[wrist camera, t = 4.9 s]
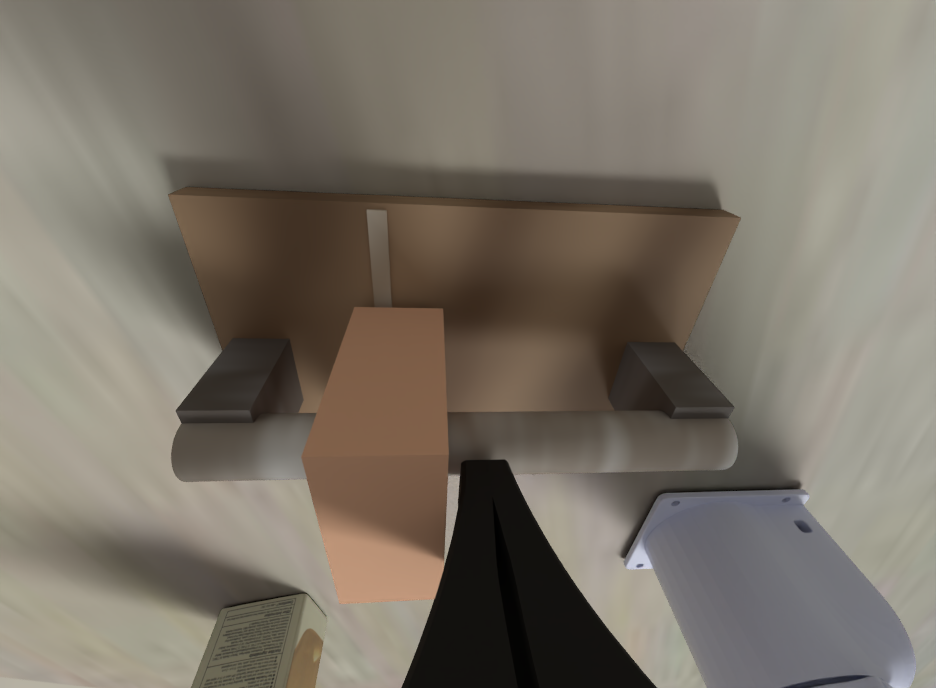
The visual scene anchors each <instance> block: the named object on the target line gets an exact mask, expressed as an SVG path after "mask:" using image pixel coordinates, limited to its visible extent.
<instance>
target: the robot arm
mask: <svg viewBox="0 0 936 688" xmlns="http://www.w3.org/2000/svg"><path fill="white" fill-rule="evenodd" d="M808 499H809V494H808V493H807V492H806V491H805V490H802V489H792V490H756V491H719V492H682V493H664V494H661V495H659V496H658V497H657V499H656V501H655V503H654V505H653V507H652V508H651V510H650V512H649V514H648V516H647V518H646V520H645V522H644V524H643V526H642V527H641V529H640V531H639V533H638V535H637V537H636V539H635V541H634V543H633V545H632V546H631V548H630V550H629V552H628V554H627V556H626V558H625V560H624V565H625V567H626V568H627V569H651V568H653V569H654V571H655V573H656V576H657V578H658V580H659V582H660V585H661V587H662V589H663V591H664V593H665V596H666V598H667V600H668V602H669V605H670V607H671V609H672V611H673V613H674V616H675V618H676V620H677V622H678V625H679V627H680V629H681V631H682V634H683V636H684V638H685V640H686V642H687V645H688V647H689V649H690V651H691V654H692V656H693V658H694V660H695V662H696V665H697V667H698V669H699V671H700V674H701V676H702V678H703V680H704V682H705V685H706V687H707V688H909V687H910V685H911V684H912V682H913V679H914V676H915V671H916V659H915V654H914V651H913V647H912V645H911V642H910V639H909V637H908V635H907V632H906V630H905V628H904V626H903V625H902V623H901V621H900V619H899V618H898V616H897V615H896V613H895V612H894V610H893V609H892V607H891V606H890V605H889V604H888V602H887V601H886V600H885V599H884V597H883V596H882V595H881V594H880V593H879V592H878V590H877V589H876V588H875V587H874V586H873V585H872V584H871V582H870V581H869V580H868V579H867V578H866V577H865V576H864V574H863V573H862V572H861V571H860V570H859V569H858V568H857V566H856V565H855V564H854V563H853V562H852V561H851V559H850V558H849V557H848V556H847V555H846V554H845V553H844V551H843V550H842V549H841V548H840V547H839V546H838V545H837V543H836V542H835V541H834V540H833V539H832V538H831V536H830V535H829V534H828V533H827V532H826V531H825V530H824V528H823V527H822V526H821V525H820V524H819V523H818V522H817V520H816V519H815V518H814V517H813V516H812V515H811V514H810V512H809V511H808V510H807V509H806V508H805V507H804V504H805V503H806V502H807V500H808ZM402 688H657V687H656V686H655V685H654V684H653V683H652V682H651V680H650V679H649V678H648V677H647V676H646V675H645V674H644V672H643V671H642V670H641V669H640V668H639V666H638V665H637V664H636V663H635V662H634V660H633V659H632V658H631V657H630V655H629V654H628V653H627V652H626V650H625V649H624V648H623V647H622V646H621V644H620V643H619V642H618V641H617V639H616V638H615V637H614V636H613V635H612V633H611V632H610V631H609V630H608V628H607V627H606V626H605V624H604V623H603V622H602V620H601V619H600V618H599V616H598V615H597V614H596V612H595V611H594V610H593V608H592V607H591V606H590V604H589V603H588V602H587V600H586V599H585V597H584V596H583V594H582V593H581V592H580V590H579V589H578V587H577V586H576V585H575V583H574V582H573V580H572V579H571V577H570V576H569V574H568V573H567V571H566V570H565V568H564V567H563V565H562V563H561V562H560V560H559V559H558V557H557V555H556V554H555V552H554V551H553V549H552V547H551V546H550V544H549V542H548V541H547V539H546V537H545V536H544V534H543V532H542V530H541V529H540V527H539V525H538V523H537V521H536V520H535V518H534V516H533V514H532V512H531V510H530V509H529V507H528V505H527V503H526V501H525V499H524V497H523V495H522V493H521V491H520V489H519V486H518V484H517V482H516V480H515V478H514V475H513V473H512V471H511V468H510V466H509V463H508V462H507V461H506V460H505V459H499V460H465V461H463V462H462V463H461V470H460V484H459V497H458V511H457V516H456V521H455V526H454V531H453V536H452V540H451V544H450V547H449V551H448V555H447V559H446V563H445V566H444V570H443V573H442V577H441V580H440V583H439V587H438V590H437V593H436V596H435V599H434V602H433V605H432V608H431V611H430V614H429V617H428V620H427V623H426V625H425V628H424V631H423V634H422V637H421V639H420V642H419V645H418V648H417V650H416V653H415V656H414V658H413V661H412V663H411V666H410V668H409V671H408V673H407V676H406V678H405V681H404V683H403V685H402Z"/></svg>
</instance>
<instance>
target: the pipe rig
mask: <svg viewBox="0 0 936 688" xmlns="http://www.w3.org/2000/svg"><path fill="white" fill-rule="evenodd" d="M168 196H169V199H170V202H171V204H172V207H173V210H174V213H175V216H176V219H177V222H178V225H179V227H180V230H181V233H182V236H183V239H184V242H185V245H186V247H187V250H188V253H189V256H190V259H191V262H192V265H193V267H194V270H195V273H196V276H197V279H198V282H199V285H200V287H201V290H202V293H203V296H204V299H205V302H206V305H207V307H208V310H209V313H210V316H211V319H212V322H213V325H214V327H215V330H216V333H217V336H218V339H219V342H220V345H221V347H222V350H223V351H222V352H221V354H220V355H219V356H218V358H217V359H216V360H215V361H214V363H213V364H212V365H211V366H210V368H209V369H208V370H207V372H206V373H205V374H204V375H203V377H202V378H201V379H200V380H199V382H198V383H197V384H196V385H195V387H194V388H193V389H192V391H191V392H190V393H189V394H188V396H187V397H186V398H185V399H184V401H183V402H182V403H181V405H180V406H179V407H178V408H177V410H176V413H177V415H178V417H179V419H180V421H181V423H182V424H181V425H180V427H179V429H178V430H177V433H176V435H175V438H174V441H173V445H172V453H171V461H172V467H173V471H174V473H175V475H176V476H177V478H178V479H179V480H181V481H184V482H199V481H244V480H290V479H307V477H306V474H305V470H304V466H303V462H302V459H301V456H302V453H303V450H304V448H305V445H306V442H307V439H308V436H309V434H310V431H311V428H312V425H313V422H314V419H315V417H316V414H317V411H318V408H319V405H320V403H321V400H322V397H323V394H324V391H325V388H326V386H327V383H328V380H329V377H330V374H331V372H332V369H333V366H334V363H335V360H336V357H337V355H338V352H339V349H340V346H341V343H342V341H343V338H344V335H345V332H346V329H347V326H348V324H349V321H350V318H351V315H352V312H353V310H354V307H385V308H443V317H444V342H445V368H446V394H447V420H448V446H449V461H448V476H460V470H461V463H462V462H463V461H465V460H499V459H505V460H506V461H507V462H508V463H509V466H510V468H511V471H512V473H513V475H517V474H563V473H608V472H654V471H699V470H726V469H728V468H730V467H731V466H732V465H733V464H734V462H735V460H736V458H737V454H738V439H737V435H736V431H735V429H734V427H733V425H732V423H731V422H730V420H729V419H728V418H729V416H730V414H731V412H732V411H733V409H734V406H733V405H732V404H731V403H730V402H729V401H728V400H727V398H726V397H725V396H724V395H723V394H722V393H721V392H720V391H719V390H718V389H717V388H716V386H715V385H714V384H713V383H712V382H711V381H710V380H709V379H708V378H707V377H706V376H705V375H704V373H703V372H702V371H701V370H700V369H699V368H698V367H697V366H696V365H695V364H694V363H693V362H692V360H691V359H690V358H689V357H688V356H687V355H686V354H685V353H684V352H683V350H684V347H685V345H686V343H687V340H688V338H689V336H690V334H691V331H692V329H693V327H694V324H695V322H696V320H697V318H698V315H699V313H700V311H701V308H702V306H703V304H704V302H705V299H706V297H707V295H708V292H709V290H710V288H711V286H712V283H713V281H714V279H715V276H716V274H717V272H718V270H719V267H720V265H721V263H722V260H723V258H724V256H725V254H726V251H727V249H728V247H729V244H730V242H731V240H732V238H733V235H734V233H735V231H736V228H737V226H738V224H739V222H740V219H741V218H740V217H738V216H736V215H734V214H731V213H729V212H727V211H725V210H716V209H693V208H669V207H645V206H622V205H598V204H575V203H551V202H528V201H504V200H480V199H457V198H433V197H410V196H386V195H363V194H339V193H315V192H292V191H268V190H245V189H221V188H198V187H185V188H182V189H180V190H178V191H175V192H173V193H171V194H168Z"/></svg>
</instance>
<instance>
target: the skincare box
mask: <svg viewBox="0 0 936 688" xmlns="http://www.w3.org/2000/svg"><path fill="white" fill-rule="evenodd" d="M326 625H327V617H326V616H325V615H324V614H323V612H322V611H321V610H320V609H319V607H318V606H317V605H316V604H315V603H314V602H313V601H312V599H311V598H310V597H309V596H308V595H307V594H298V595H292V596H286V597H281V598H275V599H270V600H265V601H260V602H254V603H249V604H244V605H239V606H234V607H229V608H224V609H222V610H221V611H220V614H219V616H218V619H217V622H216V624H215V627H214V629H213V632H212V634H211V637H210V640H209V642H208V645H207V648H206V650H205V653H204V655H203V658H202V660H201V663H200V666H199V668H198V671H197V674H196V676H195V679H194V681H193V684H192V686H191V688H315V685H316V679H317V674H318V668H319V663H320V657H321V652H322V647H323V641H324V636H325V630H326Z"/></svg>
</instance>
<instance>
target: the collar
mask: <svg viewBox="0 0 936 688" xmlns="http://www.w3.org/2000/svg"><path fill="white" fill-rule="evenodd" d="M301 459H302V462H303V466H304V470H305V474H306V477H307V481H308V485H309V489H310V493H311V496H312V500H313V504H314V508H315V512H316V515H317V519H318V523H319V527H320V531H321V534H322V538H323V542H324V546H325V550H326V553H327V557H328V561H329V565H330V569H331V572H332V576H333V580H334V584H335V588H336V591H337V595H338V599H339V603H340V604H348V603H368V602H388V601H408V600H428V599H435V596H436V593H437V590H438V587H439V583H440V580H441V577H442V573H443V570H444V550H445V528H446V506H447V484H448V461H449V446H448V420H447V394H446V368H445V342H444V317H443V308H385V307H354V310H353V312H352V315H351V318H350V321H349V324H348V326H347V329H346V332H345V335H344V338H343V341H342V343H341V346H340V349H339V352H338V355H337V357H336V360H335V363H334V366H333V369H332V372H331V374H330V377H329V380H328V383H327V386H326V388H325V391H324V394H323V397H322V400H321V403H320V405H319V408H318V411H317V414H316V417H315V419H314V422H313V425H312V428H311V431H310V434H309V436H308V439H307V442H306V445H305V448H304V450H303V453H302V456H301Z"/></svg>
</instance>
